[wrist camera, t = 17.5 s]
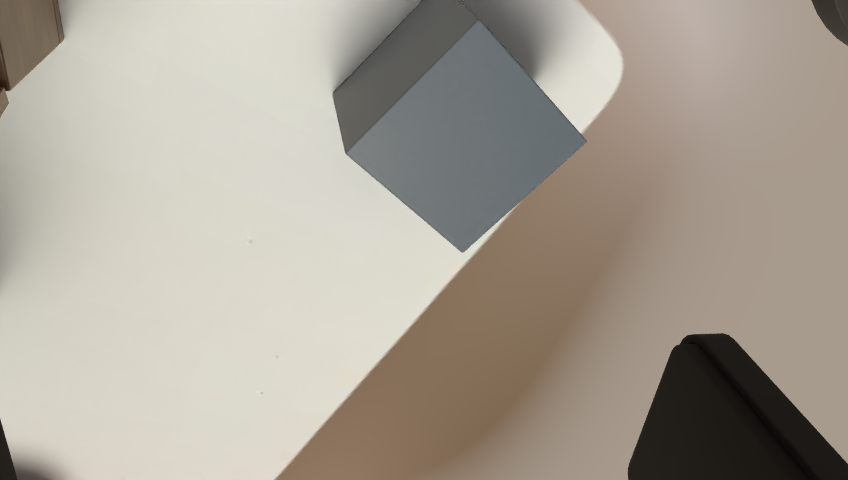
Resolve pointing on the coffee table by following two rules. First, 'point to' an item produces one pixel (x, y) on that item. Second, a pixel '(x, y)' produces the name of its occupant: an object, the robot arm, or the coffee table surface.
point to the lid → (3, 100)
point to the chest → (26, 37)
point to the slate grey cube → (451, 122)
